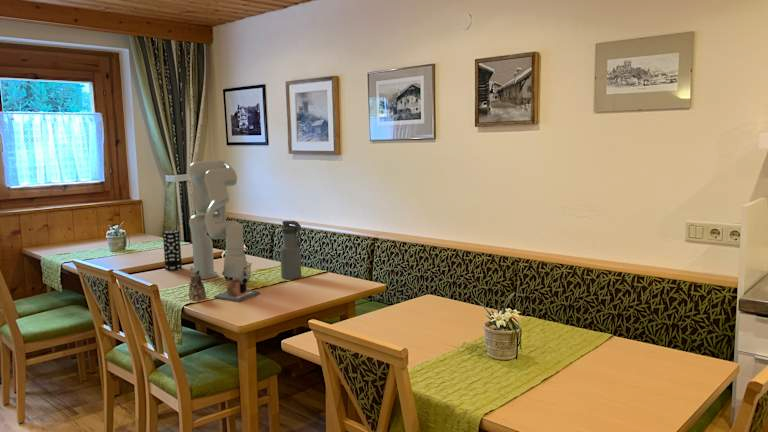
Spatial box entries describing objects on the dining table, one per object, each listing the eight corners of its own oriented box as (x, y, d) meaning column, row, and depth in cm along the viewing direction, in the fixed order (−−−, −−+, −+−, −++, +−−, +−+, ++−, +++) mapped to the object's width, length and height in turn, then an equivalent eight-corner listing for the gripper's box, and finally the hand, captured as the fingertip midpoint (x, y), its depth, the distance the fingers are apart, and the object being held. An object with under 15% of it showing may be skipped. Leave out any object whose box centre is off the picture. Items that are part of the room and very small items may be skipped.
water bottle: (304, 274, 302) (302, 219, 298) (299, 279, 292) (297, 223, 288) (284, 274, 303) (282, 219, 299) (279, 279, 293) (276, 223, 289)
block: (227, 294, 265) (226, 281, 264) (236, 291, 270) (235, 278, 269) (238, 296, 262) (237, 282, 261) (247, 292, 268) (246, 279, 267)
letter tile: (214, 298, 263) (214, 295, 263) (235, 290, 276) (235, 287, 275) (239, 302, 257) (239, 299, 257) (260, 293, 269) (260, 291, 269)
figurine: (185, 299, 262) (183, 272, 260) (195, 295, 268) (193, 269, 266) (199, 301, 259) (197, 274, 257) (209, 296, 266) (207, 270, 264)
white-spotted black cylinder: (185, 268, 318) (183, 231, 315) (172, 271, 311) (169, 233, 308) (175, 266, 323) (172, 229, 319) (161, 269, 316) (159, 232, 312)
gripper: (214, 251, 264) (216, 291, 267) (245, 255, 256) (247, 296, 259) (225, 248, 270) (227, 287, 273) (256, 251, 263) (258, 291, 265)
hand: (237, 291), depth 266 cm, fingers closed on block, 6 cm apart
